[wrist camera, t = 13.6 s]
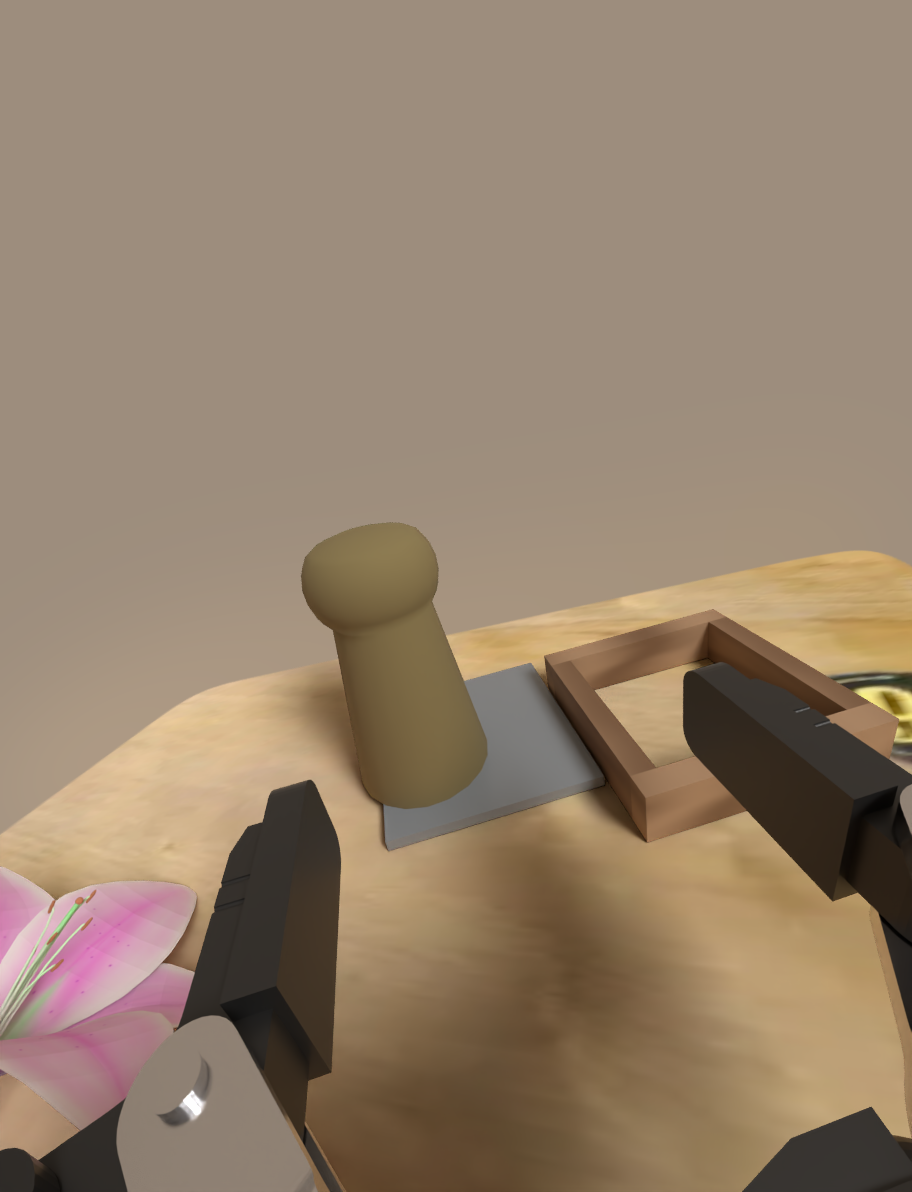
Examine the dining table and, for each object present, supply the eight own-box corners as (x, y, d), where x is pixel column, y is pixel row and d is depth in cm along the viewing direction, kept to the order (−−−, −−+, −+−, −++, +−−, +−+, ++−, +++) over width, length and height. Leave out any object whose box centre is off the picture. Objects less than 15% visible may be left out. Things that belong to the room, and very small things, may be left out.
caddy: (647, 842, 16) (645, 797, 16) (548, 689, 25) (544, 655, 24) (888, 765, 17) (898, 719, 16) (711, 644, 26) (713, 609, 25)
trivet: (388, 850, 18) (385, 842, 18) (380, 711, 26) (378, 705, 26) (604, 785, 19) (604, 775, 19) (531, 669, 27) (530, 662, 27)
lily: (265, 1461, 9) (294, 924, 9) (-1303, 2474, 4) (-1108, 1231, 4) (256, 979, 20) (269, 747, 20) (-149, 1083, 15) (-122, 775, 15)
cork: (446, 827, 18) (369, 567, 14) (334, 786, 21) (241, 563, 17) (509, 725, 23) (466, 503, 18) (408, 703, 26) (351, 510, 21)
